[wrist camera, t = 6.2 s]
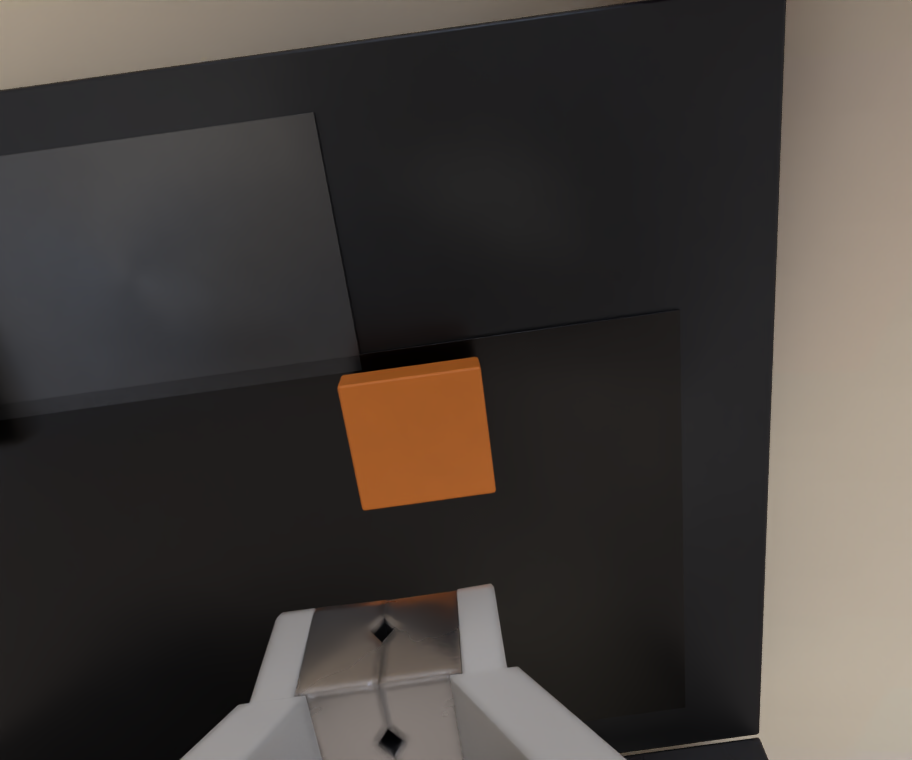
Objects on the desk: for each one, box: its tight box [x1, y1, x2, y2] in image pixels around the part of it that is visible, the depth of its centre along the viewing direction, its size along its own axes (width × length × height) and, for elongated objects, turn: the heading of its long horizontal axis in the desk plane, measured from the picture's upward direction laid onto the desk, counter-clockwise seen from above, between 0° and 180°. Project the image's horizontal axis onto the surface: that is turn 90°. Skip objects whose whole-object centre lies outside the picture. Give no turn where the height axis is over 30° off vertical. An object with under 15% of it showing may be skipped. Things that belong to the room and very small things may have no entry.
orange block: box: [337, 357, 496, 511], centre depth 15 cm, size 3×3×1 cm
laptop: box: [0, 0, 786, 760], centre depth 18 cm, size 21×30×2 cm
